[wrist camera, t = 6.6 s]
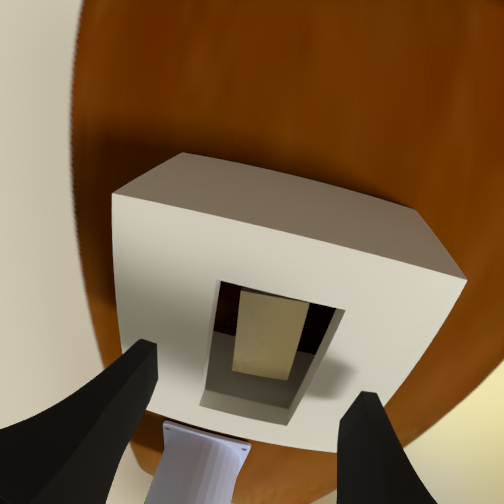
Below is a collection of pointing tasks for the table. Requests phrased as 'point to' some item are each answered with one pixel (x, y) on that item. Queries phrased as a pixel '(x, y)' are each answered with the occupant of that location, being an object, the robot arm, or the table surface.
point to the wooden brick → (267, 333)
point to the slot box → (277, 282)
